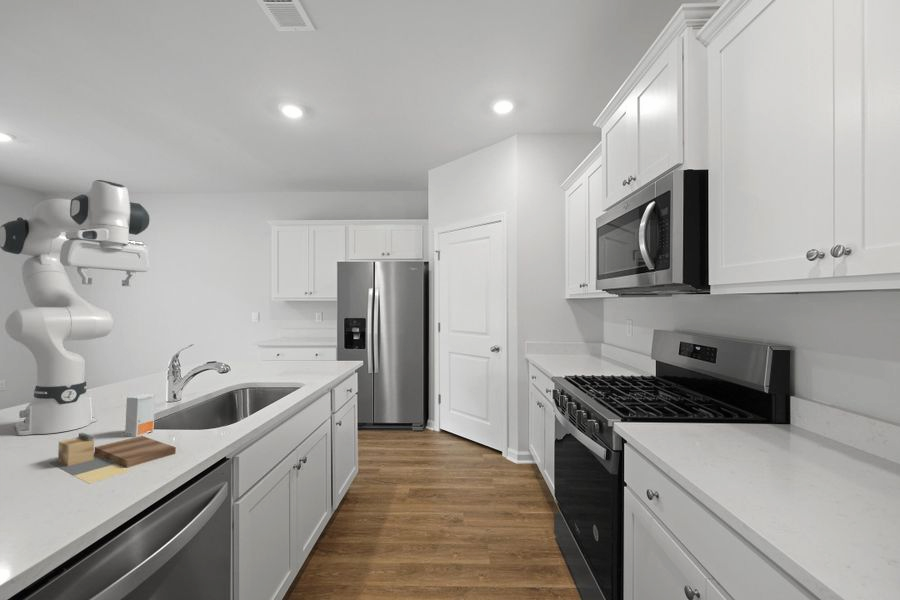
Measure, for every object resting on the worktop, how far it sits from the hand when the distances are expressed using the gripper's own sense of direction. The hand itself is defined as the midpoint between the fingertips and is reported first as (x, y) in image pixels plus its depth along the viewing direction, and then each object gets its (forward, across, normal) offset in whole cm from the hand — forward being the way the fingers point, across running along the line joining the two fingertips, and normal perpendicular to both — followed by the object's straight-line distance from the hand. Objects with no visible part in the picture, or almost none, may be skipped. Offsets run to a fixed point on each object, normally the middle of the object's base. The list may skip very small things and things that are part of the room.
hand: (107, 285), depth 114 cm
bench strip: (+46, +10, +15) cm, 49 cm away
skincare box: (+46, -11, -2) cm, 47 cm away
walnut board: (+46, 0, +15) cm, 48 cm away
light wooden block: (+46, +9, +8) cm, 47 cm away
